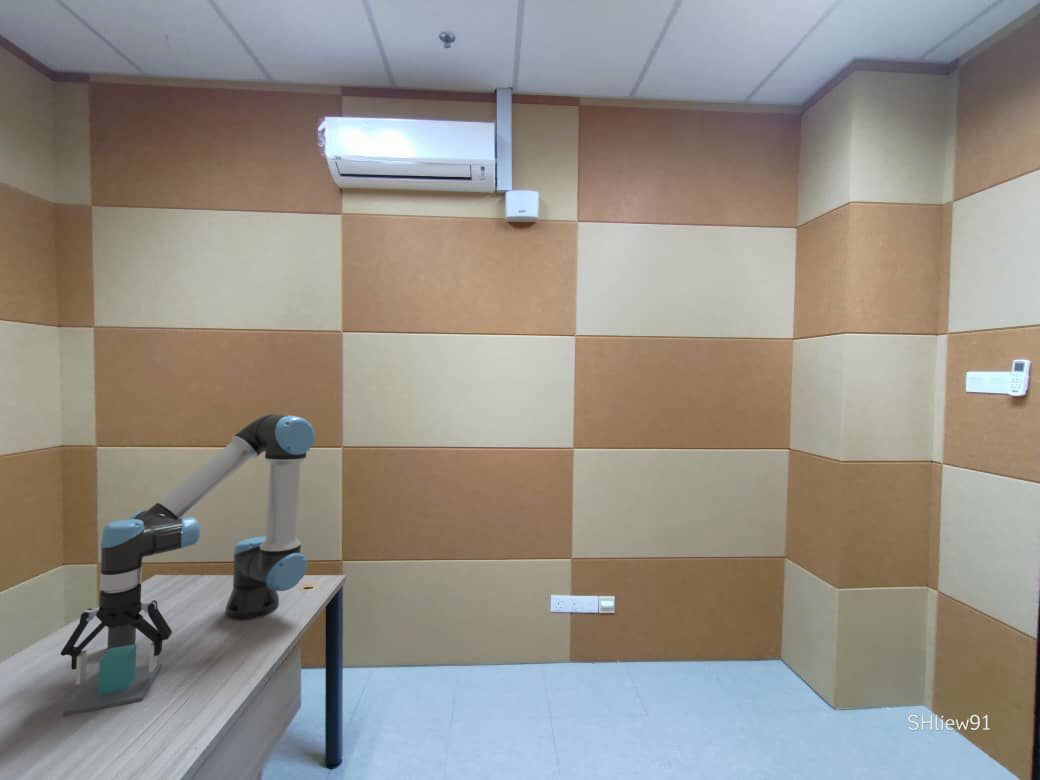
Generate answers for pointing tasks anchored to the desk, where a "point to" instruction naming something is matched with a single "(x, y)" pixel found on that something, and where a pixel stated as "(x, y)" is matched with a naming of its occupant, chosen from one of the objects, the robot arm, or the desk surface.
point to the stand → (92, 701)
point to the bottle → (121, 636)
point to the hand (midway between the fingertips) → (117, 675)
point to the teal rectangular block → (117, 669)
